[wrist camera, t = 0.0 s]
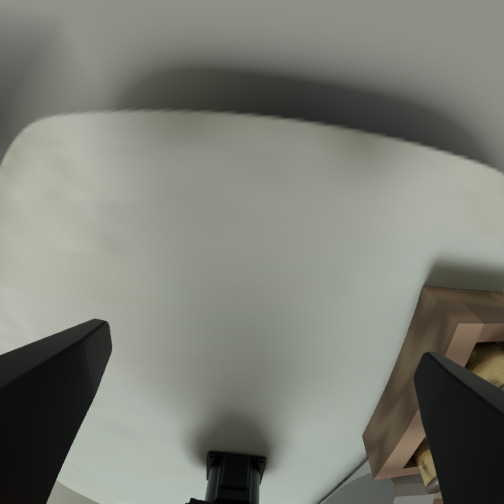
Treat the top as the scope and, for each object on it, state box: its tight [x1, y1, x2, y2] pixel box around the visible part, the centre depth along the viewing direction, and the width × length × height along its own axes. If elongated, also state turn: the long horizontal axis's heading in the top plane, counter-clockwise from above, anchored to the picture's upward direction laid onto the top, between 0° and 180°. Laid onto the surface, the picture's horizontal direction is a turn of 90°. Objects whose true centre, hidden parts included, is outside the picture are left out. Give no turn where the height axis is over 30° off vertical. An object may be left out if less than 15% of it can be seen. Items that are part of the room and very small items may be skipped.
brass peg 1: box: [413, 437, 440, 494], centre depth 21 cm, size 4×4×6 cm
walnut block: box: [362, 286, 504, 480], centre depth 23 cm, size 18×10×6 cm, turn 174°
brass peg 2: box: [464, 341, 504, 390], centre depth 18 cm, size 4×4×6 cm
